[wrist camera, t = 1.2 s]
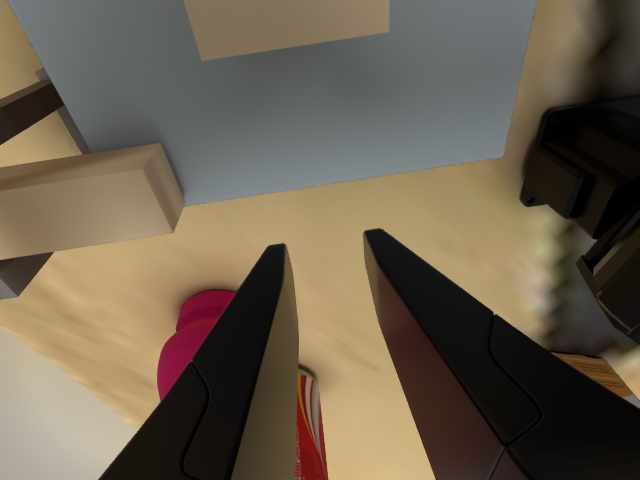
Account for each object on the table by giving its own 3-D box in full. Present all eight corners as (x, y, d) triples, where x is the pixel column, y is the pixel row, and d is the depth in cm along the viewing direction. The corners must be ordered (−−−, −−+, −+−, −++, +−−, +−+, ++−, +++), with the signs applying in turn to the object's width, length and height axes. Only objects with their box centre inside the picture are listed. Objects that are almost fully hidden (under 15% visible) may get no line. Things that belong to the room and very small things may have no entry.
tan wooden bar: (160, 142, 12) (142, 169, 10) (185, 202, 13) (173, 232, 12) (-71, 178, 12) (-125, 210, 10) (-21, 234, 13) (-61, 269, 12)
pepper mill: (157, 295, 26) (-24, 781, 11) (250, 275, 26) (206, 746, 10) (196, 350, 31) (110, 749, 15) (276, 334, 30) (273, 725, 15)
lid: (558, -302, 8) (885, -620, 4) (482, 139, 15) (568, 211, 11) (-61, -204, 8) (-456, -409, 4) (140, 192, 15) (82, 286, 11)
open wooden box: (479, -232, 12) (818, -572, 5) (444, 127, 20) (545, 224, 13) (-80, -145, 12) (-677, -337, 5) (104, 180, 20) (-3, 308, 13)
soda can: (232, 387, 35) (213, 561, 25) (277, 352, 32) (277, 531, 22) (287, 406, 38) (290, 566, 28) (332, 376, 35) (355, 542, 25)
